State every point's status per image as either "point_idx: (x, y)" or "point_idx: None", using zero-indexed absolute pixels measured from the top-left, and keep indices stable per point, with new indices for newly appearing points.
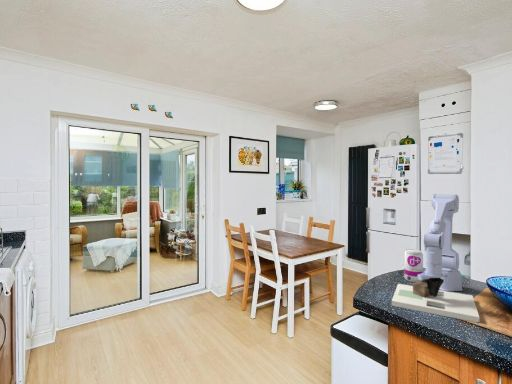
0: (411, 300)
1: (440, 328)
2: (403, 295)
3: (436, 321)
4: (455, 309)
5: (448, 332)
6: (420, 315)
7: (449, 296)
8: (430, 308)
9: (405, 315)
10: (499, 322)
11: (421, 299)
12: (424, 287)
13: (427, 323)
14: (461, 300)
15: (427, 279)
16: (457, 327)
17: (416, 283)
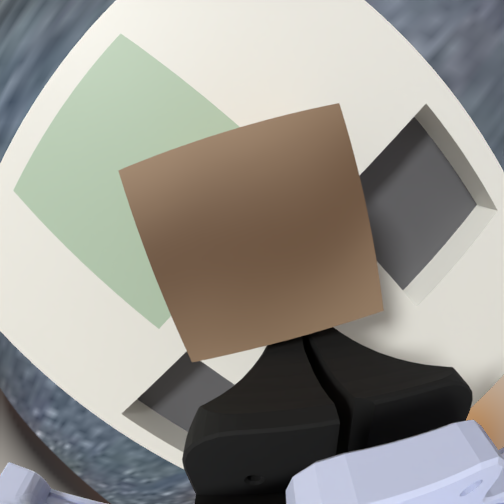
0: (60, 317)
1: (107, 485)
2: (48, 202)
3: (120, 462)
4: None
5: (120, 500)
6: (74, 410)
7: (455, 308)
8: (130, 435)
9: (12, 383)
10: None
11: (151, 323)
12: (196, 354)
13: (75, 455)
14: None
15: (200, 493)
16: (177, 500)
17: (166, 199)
